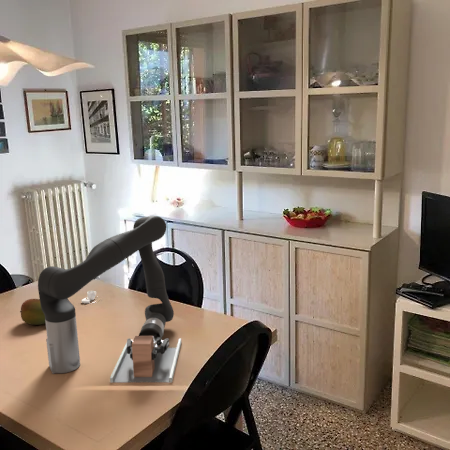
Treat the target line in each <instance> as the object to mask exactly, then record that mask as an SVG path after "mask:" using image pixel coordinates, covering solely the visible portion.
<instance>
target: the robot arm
mask: <svg viewBox="0 0 450 450" xmlns="http://www.w3.org/2000/svg"><path fill="white" fill-rule="evenodd" d="M132 227H133V229H130V230H128V231H124V232H122V233H118V234H116V235H113V236H111V237H109V238H106V239H105V240H103V241H101V242H99V243H98V244H96V245H94V247H92V249H91V250H90V251H89V253H88V255H87V257H86V258H85V260H83V261H82V262H81V263H79V264H77V265H75V266H73V267H70V268H67V269H65V268H62V267H60V266H59V267H58V266H48V267H46V268H44V269H43V270H42V271H41V272H40V274H39V275H38V279H37V280H38V281H37V289H38V299H40V304H41V309H42V311H43V313H44V315H45V322H46V323H45V328H46V329H45V331H46V348H47V359H48V365H49V368H50V371H51V374H66V373H70V372H73V371H75V370H77V369H78V368H79V367H80V366H81V357H80V347H79V337H78V335H79V334H78V329H77V328H78V326H77V314H76V307H75V305H74V304H73V303H72V302H71V301H70V300H69V298H71V297H73V296H74V295H75V294H77V293H78V292H80V291H81V289H83V288H84V287H85V286H86V285H87V286H88V284H89V283H90V282H92V281H93V280H95V279H96V278H98V277H99V276H102V274H103V273H105V272H107V271H109V270H111V269H112V268H113V267H115V266H117V265H118V264H120V263H122V262H123V261H125V260H126V259H128V258H130V257H131V256H132V255H134V254H135V253H137V252H138V253H139V256H140V260H141V264H142V268H143V274H144V279H145V289H146V295H147V297H148V298H150V299H158V300H159V301H160V302H161V303H153V304H152V303H151V304H149V305H147V306H146V307H145V308H144V317H145V321H144V323H143V324H142V327H141V329H140V331H139V334H138V336H153V345H154V348H153V351H152V354H151V357H152V360H154V358H156V357H157V355H158V353H161V354H164V353H165V351H166V350H167V348H170V339H169V338H168V337H167V338H164V339H163V337H164V331H165V327H166V323H169V322H171V321H172V320H173V318H174V317H175V316H174V315H175V312H174V308H173V306H172V304H171V301H170V298H169V296H168V293H167V289H166V288H167V287H166V280H165V273H164V271H163V269H162V266H161V264H160V263H159V261H158V260H157V257H156V255H155V253H154V249H153V243H154V242H157V241H159V240H161V239H162V238H163V237H164V236H165V234H166V232H167V223H166V221H165V220H164V218H162V217H161V216H158V215H149V216H144V217H139V218H138V219H136V220H135V221H134V223H133V226H132ZM133 340H134V339H131V338H127V339H126V342H127V354H130V358H132V360H133V355H132V342H133Z"/></svg>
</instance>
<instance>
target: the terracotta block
mask: <svg viewBox="0 0 450 450" xmlns="http://www.w3.org/2000/svg"><path fill="white" fill-rule="evenodd" d="M132 340H133V342H132V355H133V371H134V377H152V375H153V372H154V369H155V364H154V360H152V357H151V354H152V351H153V348H154V345H153V336H139V335H135V336H134V339H132Z"/></svg>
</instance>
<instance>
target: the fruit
mask: <svg viewBox="0 0 450 450" xmlns="http://www.w3.org/2000/svg"><path fill="white" fill-rule="evenodd" d="M19 313H20V316H21V317H20V318H21V320H22V321H23V322H24V323H26V324H28V325H34V326H35V325H36V326H37V325H38V326H39V325H44V324H46V322H45V315H44V313H43V311H42V309H41V304H40V298H29V299H27V300H25V301H23V302H22V303H21V306H20V311H19Z"/></svg>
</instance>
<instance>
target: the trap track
mask: <svg viewBox="0 0 450 450" xmlns="http://www.w3.org/2000/svg"><path fill="white" fill-rule="evenodd" d="M177 341H178V342H177V344H176V347H168V348H167V350H166V351H165V353H164V354H161V353H158V355H157V357H156V358H154V364H155V369H154V372H153V375H152V377H134V371H133V360H132V358H130V354H127V341H126V343H125V345H124V347H123V349H122V352H121V353H120V355H119V358H118V360H117V362H116V364H115V366H114V368H113V370H112V372H111V375H110V376H109V377H110V378H109V383H111V384H112V383H113V384H114V383H115V384H116V383H173V381H174V380H173V379H174V375H175V372H176V366H177V364H178V363H177V362H178V358H179V354H180V351H181V346H182V338H178V340H177Z"/></svg>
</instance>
